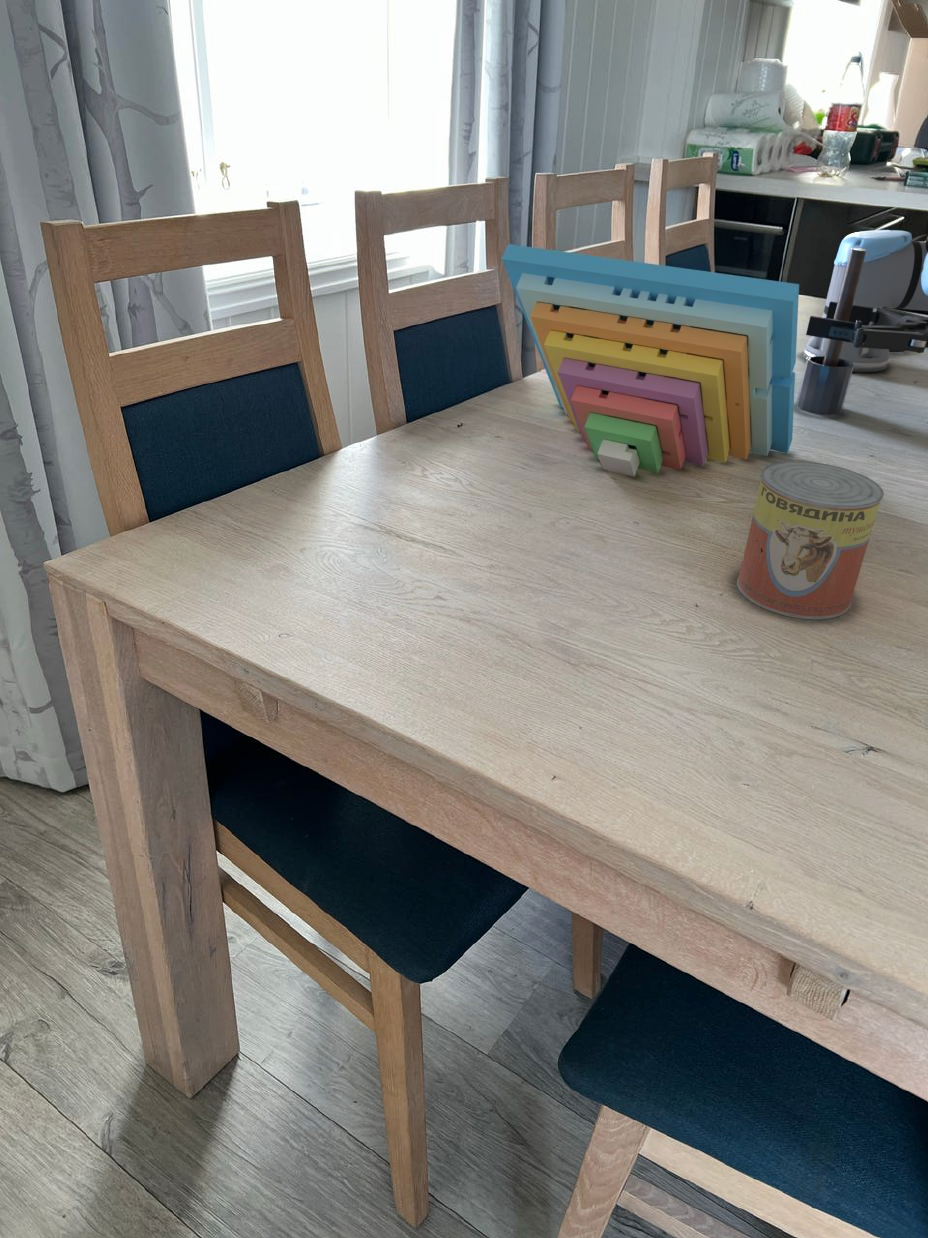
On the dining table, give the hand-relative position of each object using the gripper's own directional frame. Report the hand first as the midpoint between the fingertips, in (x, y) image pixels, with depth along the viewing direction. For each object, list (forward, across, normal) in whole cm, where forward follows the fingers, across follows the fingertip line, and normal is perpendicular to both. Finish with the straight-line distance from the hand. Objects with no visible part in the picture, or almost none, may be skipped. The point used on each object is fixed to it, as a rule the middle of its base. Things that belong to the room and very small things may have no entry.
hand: (818, 317), depth 145 cm
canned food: (-15, -66, -14) cm, 69 cm away
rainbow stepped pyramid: (+13, -36, -14) cm, 41 cm away
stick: (-3, 0, -14) cm, 14 cm away
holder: (-3, 0, -14) cm, 15 cm away
